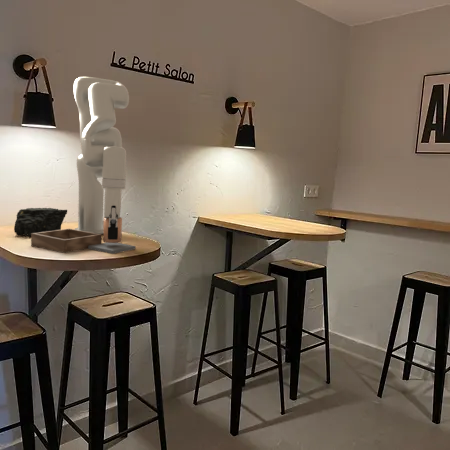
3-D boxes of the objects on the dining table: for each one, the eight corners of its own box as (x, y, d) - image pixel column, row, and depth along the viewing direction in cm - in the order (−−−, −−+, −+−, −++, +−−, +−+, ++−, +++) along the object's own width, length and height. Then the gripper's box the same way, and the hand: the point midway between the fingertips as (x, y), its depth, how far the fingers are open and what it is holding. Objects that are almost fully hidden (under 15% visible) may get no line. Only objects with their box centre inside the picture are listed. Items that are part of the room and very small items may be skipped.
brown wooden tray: (69, 239, 164) (69, 228, 163) (101, 245, 156) (101, 234, 156) (31, 245, 150) (31, 233, 149) (64, 252, 142) (64, 240, 142)
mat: (111, 244, 160) (111, 241, 160) (135, 249, 154) (135, 246, 154) (88, 248, 150) (88, 245, 150) (112, 253, 145) (112, 250, 145)
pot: (112, 238, 156) (112, 215, 155) (125, 241, 153) (125, 217, 152) (99, 241, 151) (99, 216, 150) (112, 243, 148) (113, 218, 147)
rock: (21, 231, 176) (13, 236, 162) (21, 206, 175) (12, 210, 161) (69, 231, 181) (64, 237, 166) (69, 207, 179) (64, 211, 165)
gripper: (102, 182, 156) (100, 233, 159) (102, 185, 140) (100, 242, 143) (124, 183, 158) (122, 233, 161) (126, 186, 142) (125, 242, 145)
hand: (112, 237), depth 152 cm, fingers closed on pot, 6 cm apart
